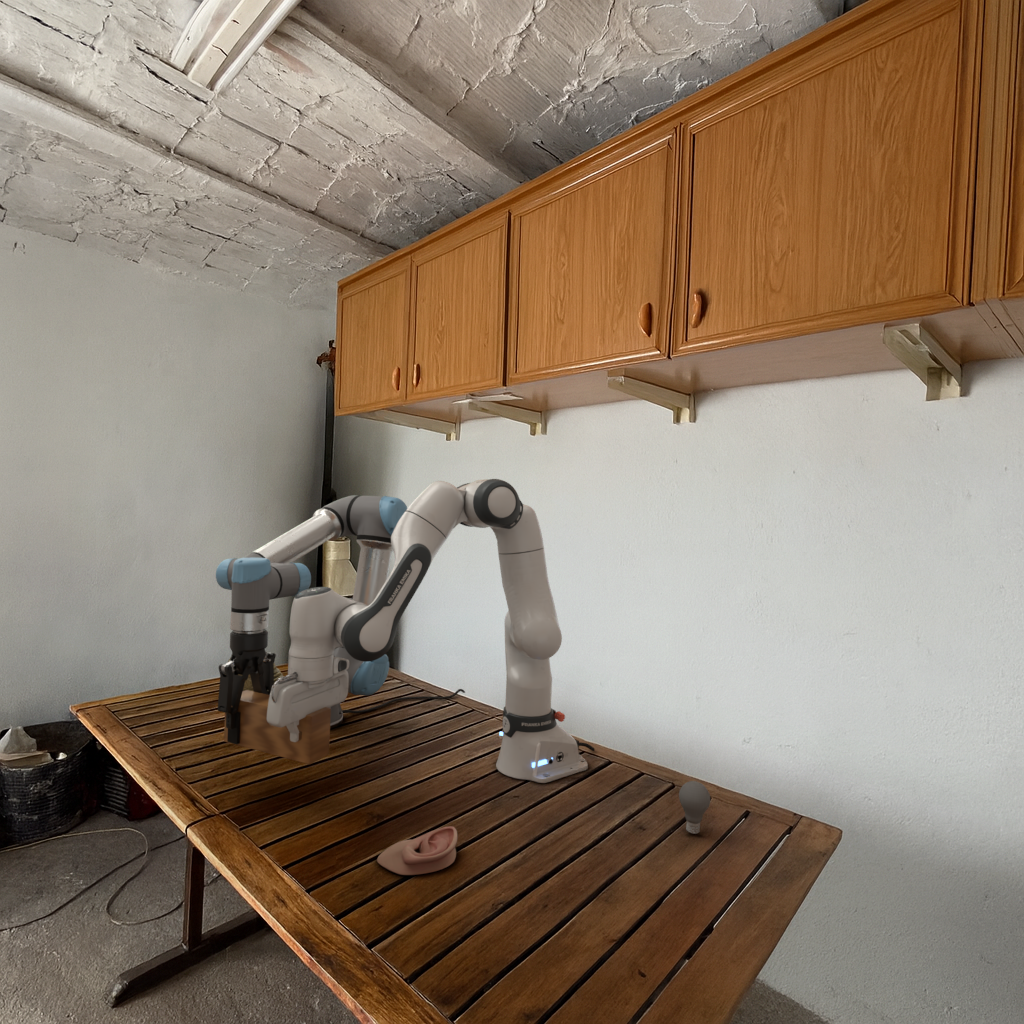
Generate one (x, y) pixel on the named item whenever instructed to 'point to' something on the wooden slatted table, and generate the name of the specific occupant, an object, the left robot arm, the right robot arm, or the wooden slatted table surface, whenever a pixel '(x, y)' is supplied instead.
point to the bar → (281, 731)
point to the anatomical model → (421, 853)
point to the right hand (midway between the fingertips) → (308, 734)
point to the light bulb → (694, 804)
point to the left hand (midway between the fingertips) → (245, 737)
